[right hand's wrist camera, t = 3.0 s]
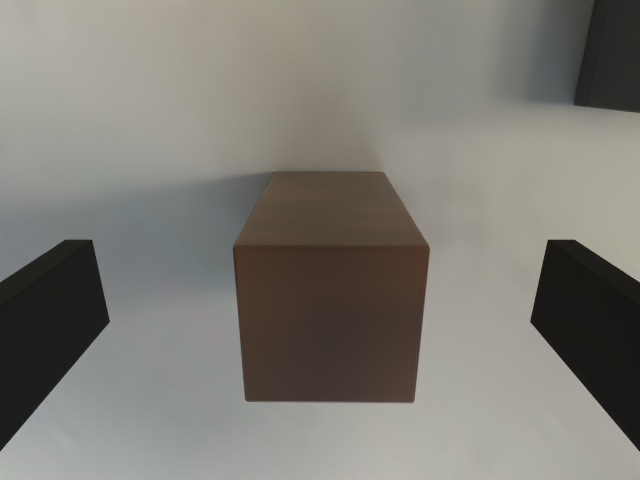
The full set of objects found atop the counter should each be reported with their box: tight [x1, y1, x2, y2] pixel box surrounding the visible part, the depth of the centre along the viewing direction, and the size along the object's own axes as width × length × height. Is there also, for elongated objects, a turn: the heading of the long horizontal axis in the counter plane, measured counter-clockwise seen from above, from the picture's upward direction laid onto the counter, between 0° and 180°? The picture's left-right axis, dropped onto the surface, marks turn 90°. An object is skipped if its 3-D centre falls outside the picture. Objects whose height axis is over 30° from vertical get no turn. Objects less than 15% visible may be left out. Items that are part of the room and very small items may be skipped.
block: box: [233, 172, 430, 403], centre depth 14 cm, size 4×4×8 cm
